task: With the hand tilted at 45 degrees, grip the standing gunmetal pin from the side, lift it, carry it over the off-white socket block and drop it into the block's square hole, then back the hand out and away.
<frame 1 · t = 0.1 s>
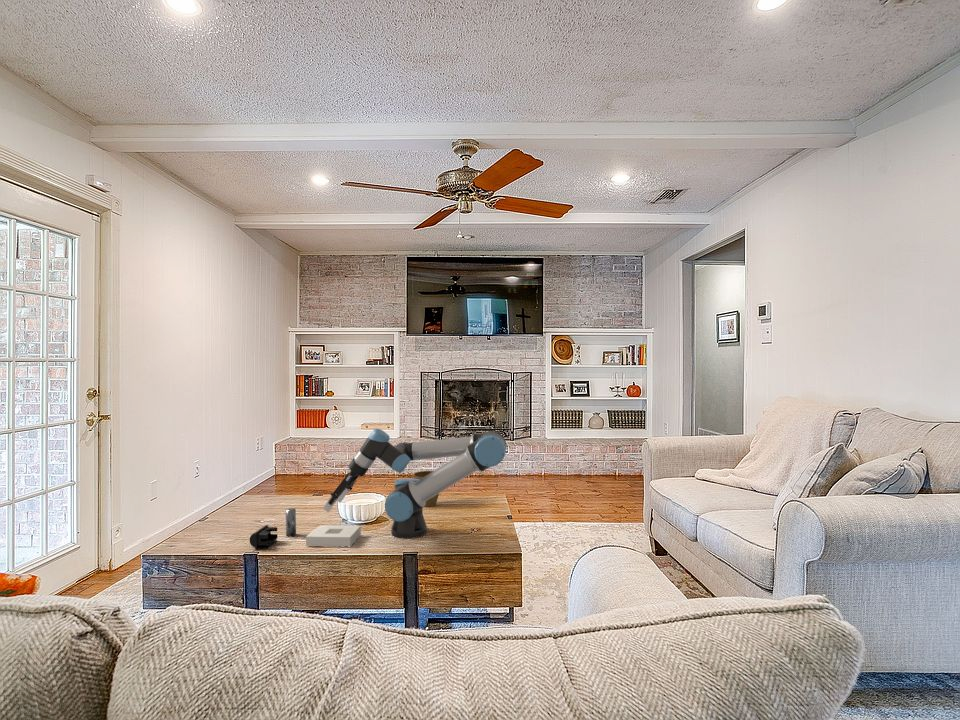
hand: (331, 505, 217), 15 cm above the table, tool tilted 35°, fingers open, 13 cm apart
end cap: (264, 545, 216), on the table
plant pot: (428, 505, 270), on the table
socket block: (334, 540, 220), on the table
pin: (291, 535, 227), on the table
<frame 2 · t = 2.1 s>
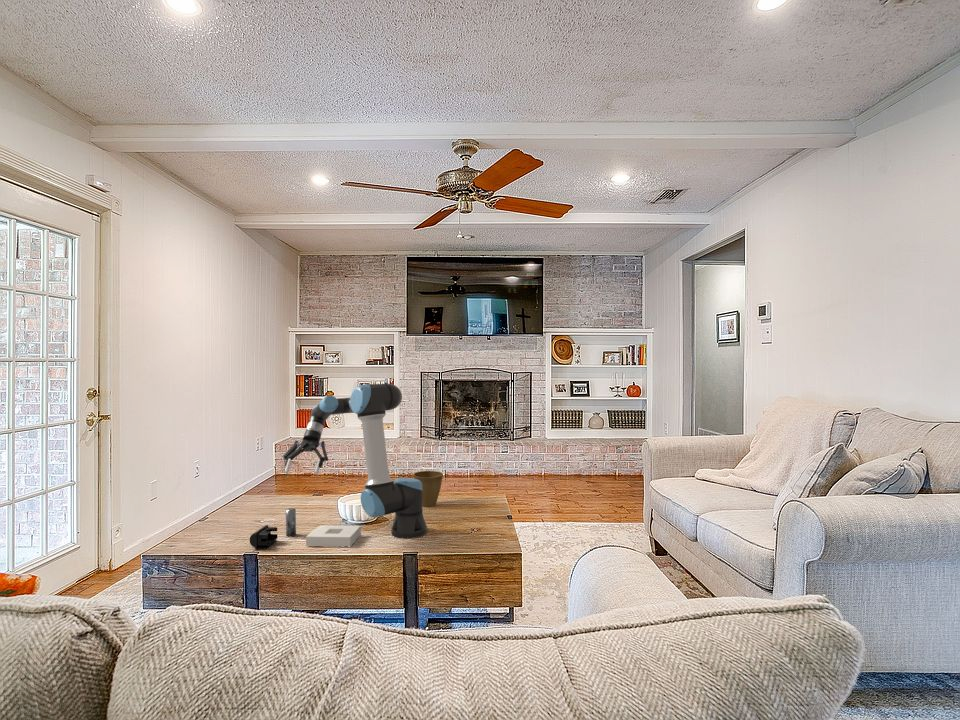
hand: (301, 473, 237), 24 cm above the table, tool tilted 45°, fingers open, 13 cm apart
nothing on the table moved.
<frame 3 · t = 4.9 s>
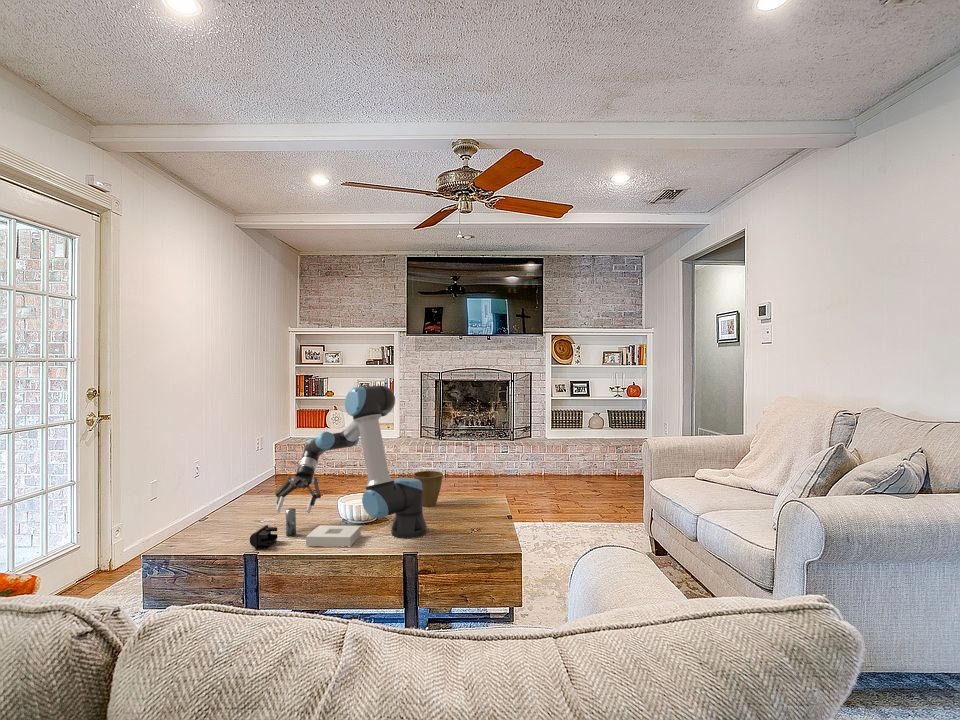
hand: (292, 511, 231), 9 cm above the table, tool tilted 45°, fingers open, 13 cm apart
nothing on the table moved.
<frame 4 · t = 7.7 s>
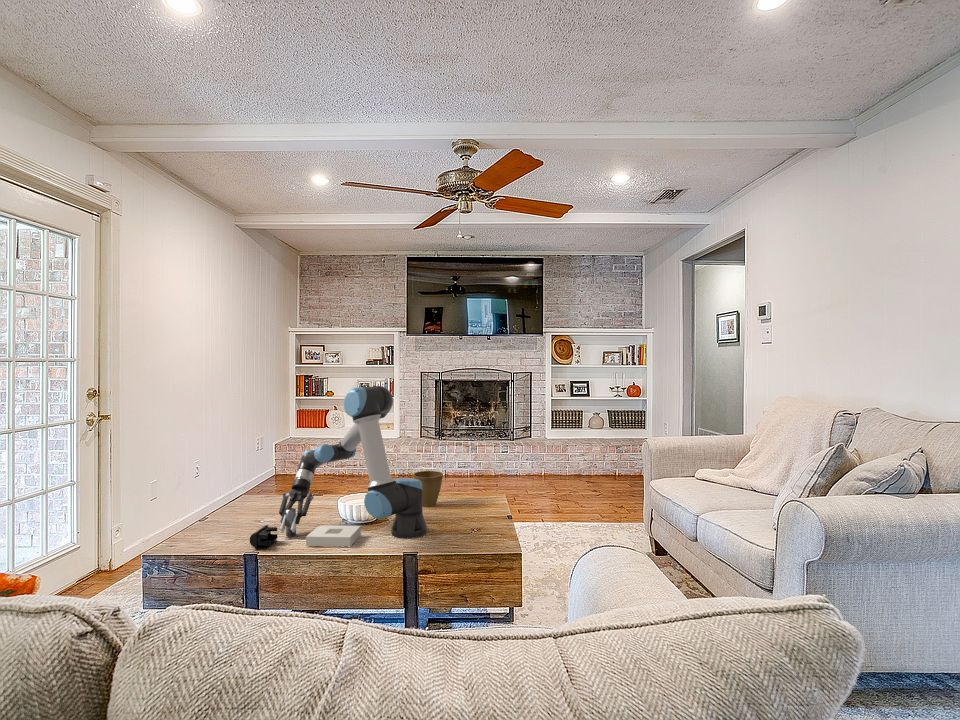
hand: (287, 530, 223), 3 cm above the table, tool tilted 45°, fingers closed on pin, 4 cm apart
pin: (291, 535, 227), on the table, touching gripper
everything else where it was.
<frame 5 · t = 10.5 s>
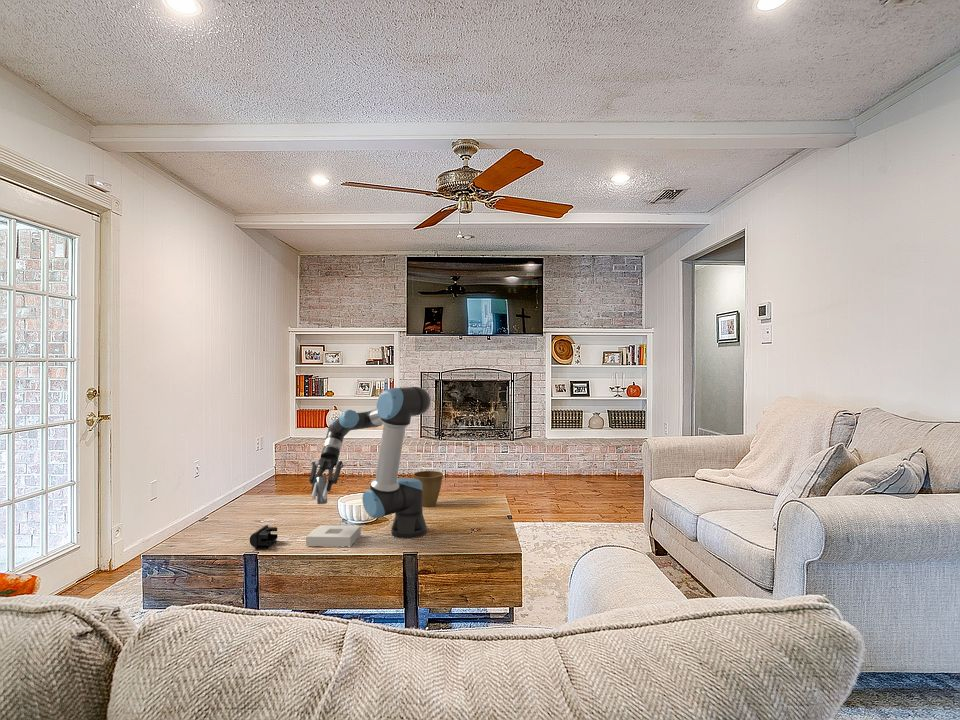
hand: (318, 497, 218), 18 cm above the table, tool tilted 45°, fingers closed on pin, 4 cm apart
pin: (322, 503, 222), point 15 cm above the table, touching gripper
everything else where it was.
when the fingers open (6 cm above the table, at t = 13.3 s): pin drops 3 cm, resting in socket block.
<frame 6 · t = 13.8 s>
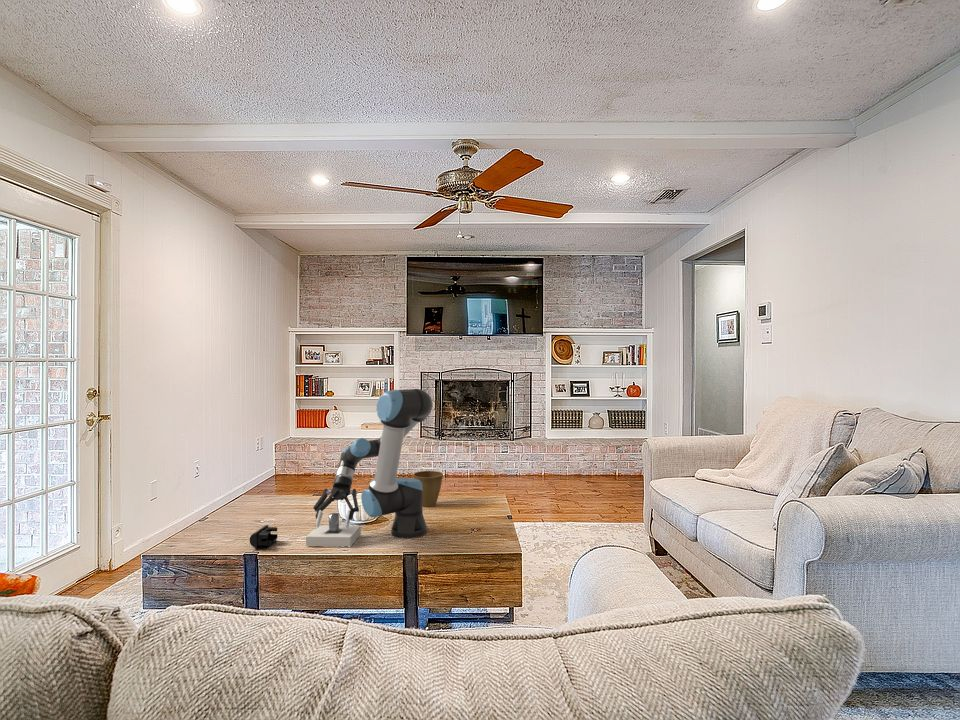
hand: (331, 526, 217), 7 cm above the table, tool tilted 45°, fingers open, 11 cm apart
pin: (334, 540, 220), resting in socket block
everything else where it was.
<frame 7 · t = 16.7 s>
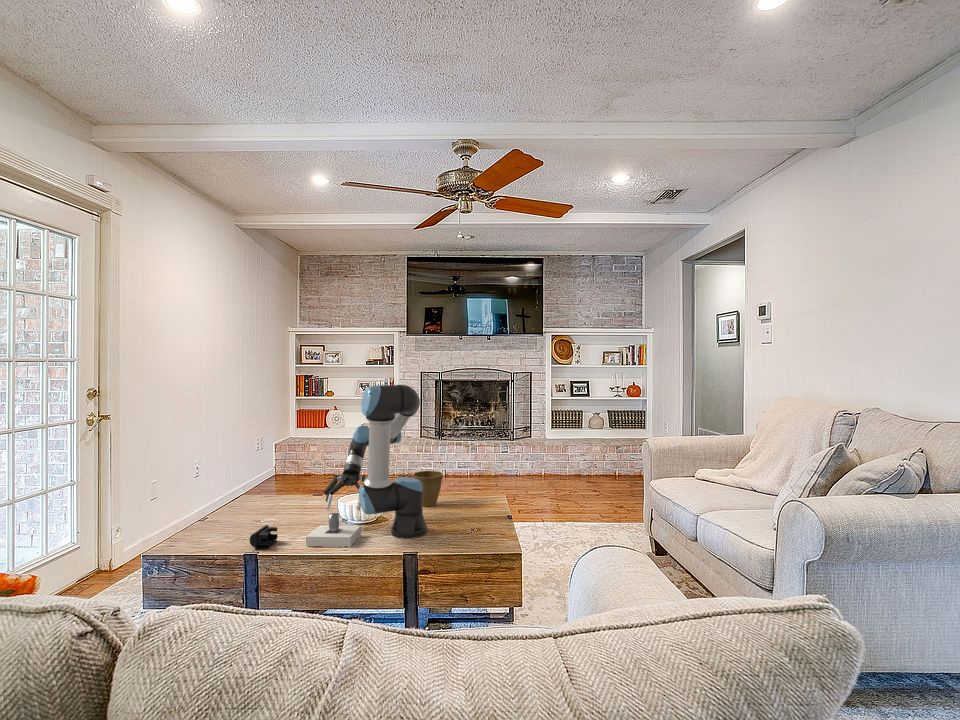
hand: (342, 509, 230), 10 cm above the table, tool tilted 45°, fingers open, 13 cm apart
nothing on the table moved.
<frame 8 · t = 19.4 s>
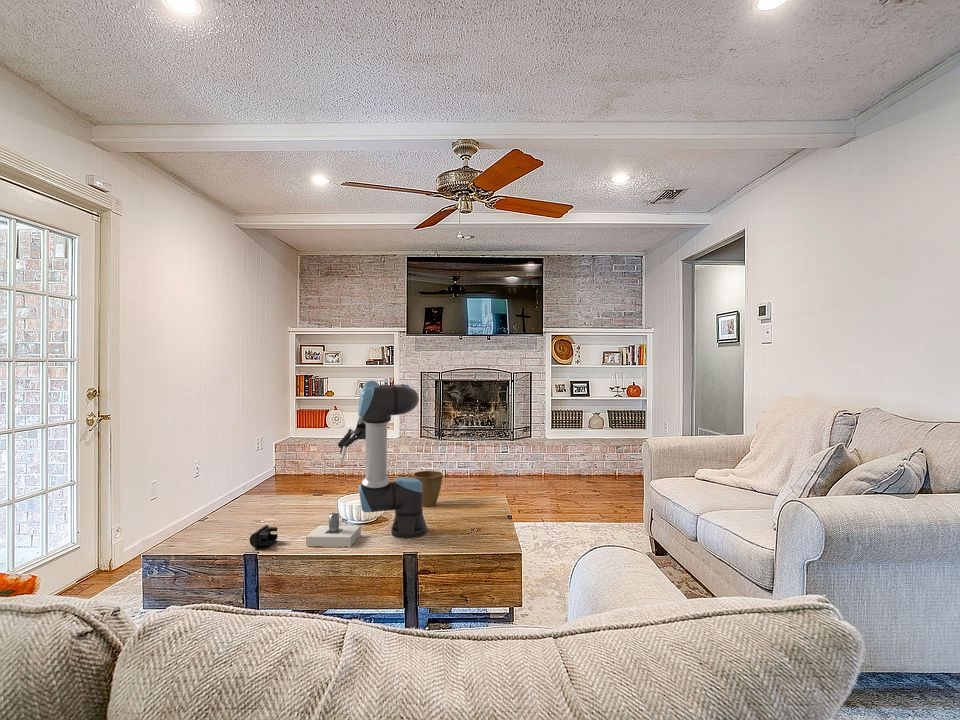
hand: (356, 460, 238), 30 cm above the table, tool tilted 45°, fingers open, 13 cm apart
nothing on the table moved.
at the end: pin 0.1 cm off-centre on the socket block, point 0.0 cm above the socket block's base; pin tilted 0°; the gripper is holding nothing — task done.
